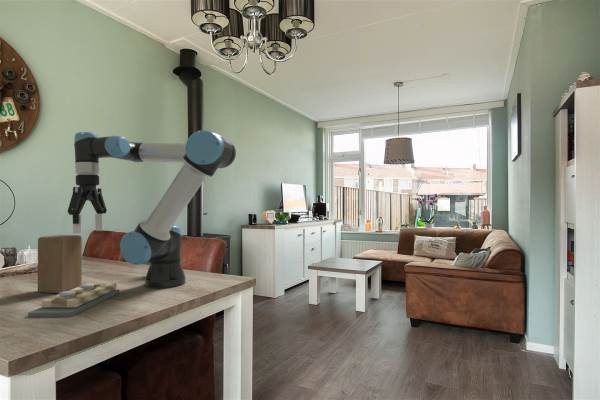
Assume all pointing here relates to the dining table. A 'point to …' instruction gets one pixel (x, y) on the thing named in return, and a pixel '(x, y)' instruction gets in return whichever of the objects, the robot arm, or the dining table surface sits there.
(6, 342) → the dining table surface
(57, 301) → the panel
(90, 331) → the dining table surface
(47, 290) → the wooden block
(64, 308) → the boss board
